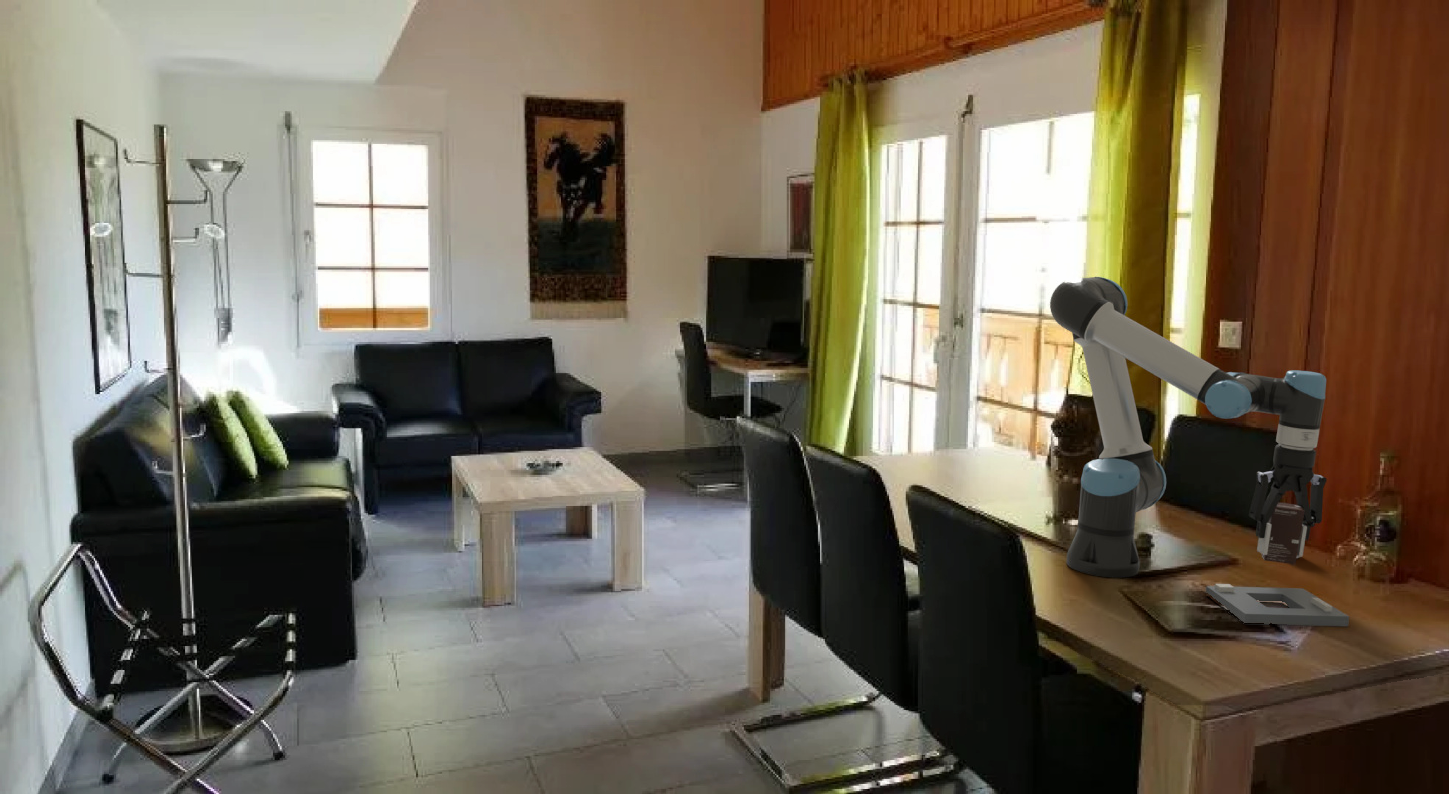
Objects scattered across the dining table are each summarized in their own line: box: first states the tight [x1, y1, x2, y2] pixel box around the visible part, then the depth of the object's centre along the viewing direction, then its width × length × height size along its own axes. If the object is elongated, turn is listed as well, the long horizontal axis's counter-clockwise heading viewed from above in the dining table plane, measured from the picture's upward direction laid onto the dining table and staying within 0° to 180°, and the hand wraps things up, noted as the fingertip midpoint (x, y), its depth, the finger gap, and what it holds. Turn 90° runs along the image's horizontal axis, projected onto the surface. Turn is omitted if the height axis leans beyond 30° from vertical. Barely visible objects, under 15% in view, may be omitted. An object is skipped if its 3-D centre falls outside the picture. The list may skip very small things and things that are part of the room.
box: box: [1261, 502, 1305, 566], centre depth 221 cm, size 6×4×12 cm
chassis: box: [1205, 583, 1350, 627], centre depth 210 cm, size 20×16×3 cm
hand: (1279, 553), depth 222 cm, fingers closed on box, 7 cm apart
